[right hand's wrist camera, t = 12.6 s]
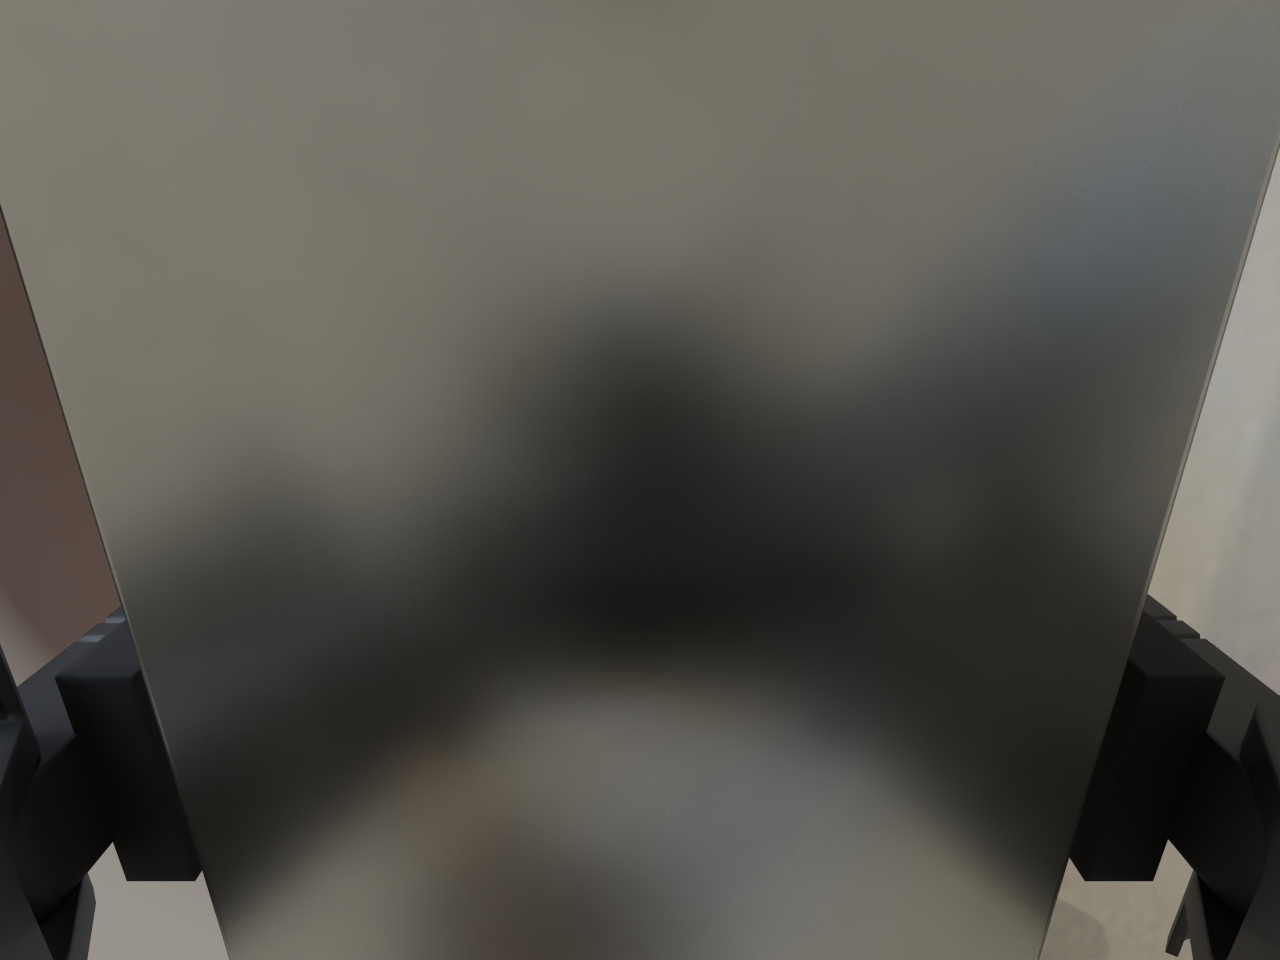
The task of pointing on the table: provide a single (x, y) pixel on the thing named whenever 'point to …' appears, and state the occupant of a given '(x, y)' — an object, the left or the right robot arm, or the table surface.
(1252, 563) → the table surface
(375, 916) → the box
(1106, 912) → the table surface
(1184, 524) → the table surface
